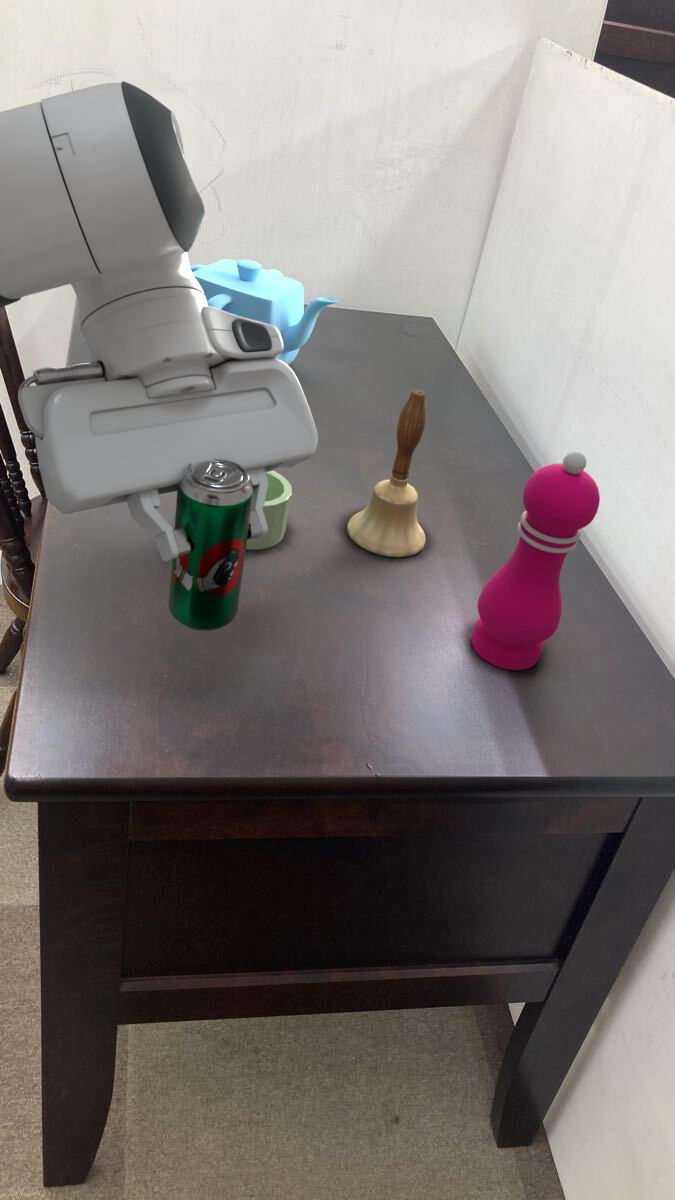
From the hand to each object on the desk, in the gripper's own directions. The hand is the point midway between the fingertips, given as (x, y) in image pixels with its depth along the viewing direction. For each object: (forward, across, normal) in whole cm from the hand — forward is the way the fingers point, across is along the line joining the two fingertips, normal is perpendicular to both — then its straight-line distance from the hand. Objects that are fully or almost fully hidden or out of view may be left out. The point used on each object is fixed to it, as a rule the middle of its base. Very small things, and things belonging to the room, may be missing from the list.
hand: (218, 547), depth 62 cm
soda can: (+4, 0, +6) cm, 7 cm away
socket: (-3, +16, +22) cm, 27 cm away
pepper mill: (+15, +27, +4) cm, 31 cm away
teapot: (-26, +39, +45) cm, 65 cm away
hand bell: (+2, +29, +17) cm, 34 cm away
